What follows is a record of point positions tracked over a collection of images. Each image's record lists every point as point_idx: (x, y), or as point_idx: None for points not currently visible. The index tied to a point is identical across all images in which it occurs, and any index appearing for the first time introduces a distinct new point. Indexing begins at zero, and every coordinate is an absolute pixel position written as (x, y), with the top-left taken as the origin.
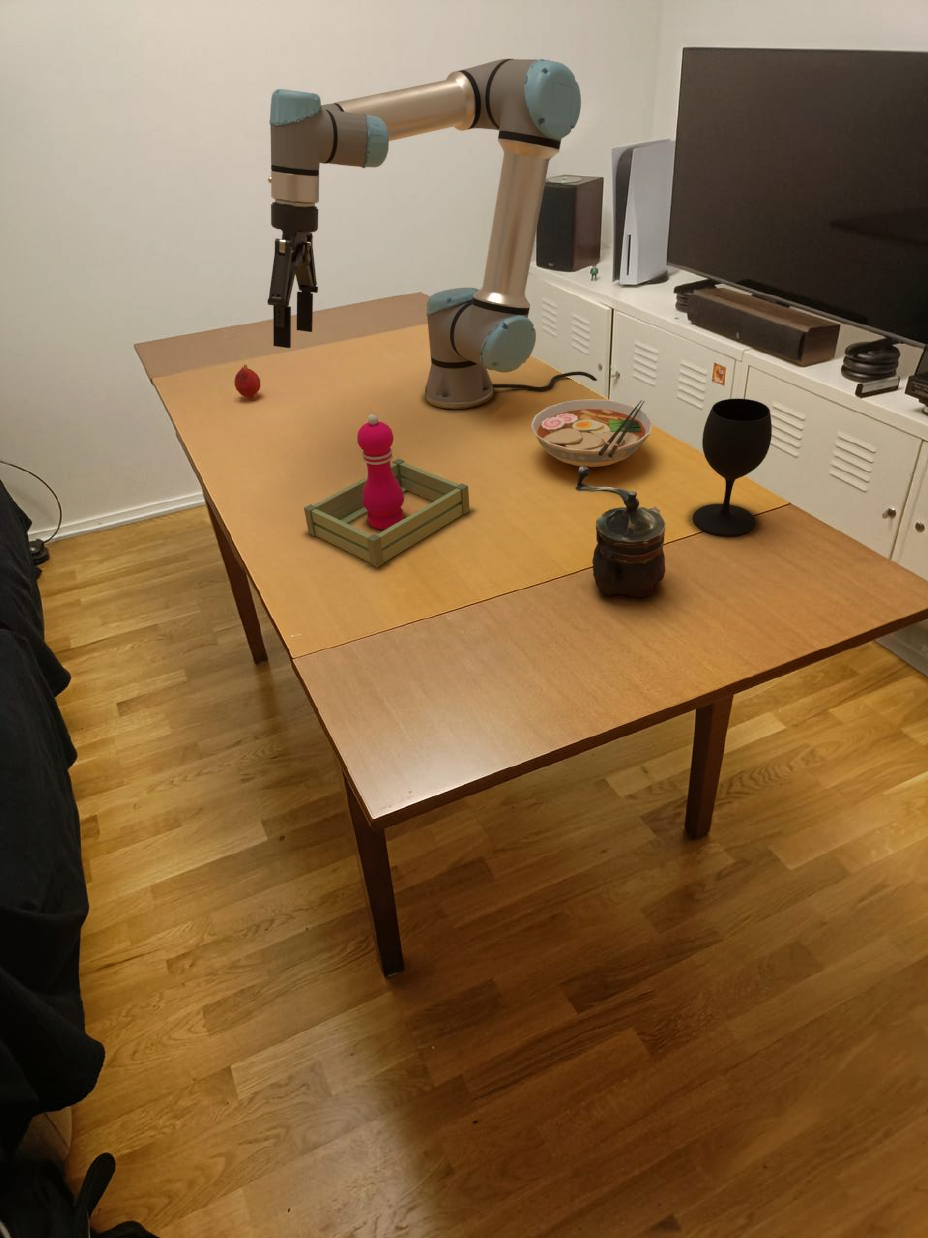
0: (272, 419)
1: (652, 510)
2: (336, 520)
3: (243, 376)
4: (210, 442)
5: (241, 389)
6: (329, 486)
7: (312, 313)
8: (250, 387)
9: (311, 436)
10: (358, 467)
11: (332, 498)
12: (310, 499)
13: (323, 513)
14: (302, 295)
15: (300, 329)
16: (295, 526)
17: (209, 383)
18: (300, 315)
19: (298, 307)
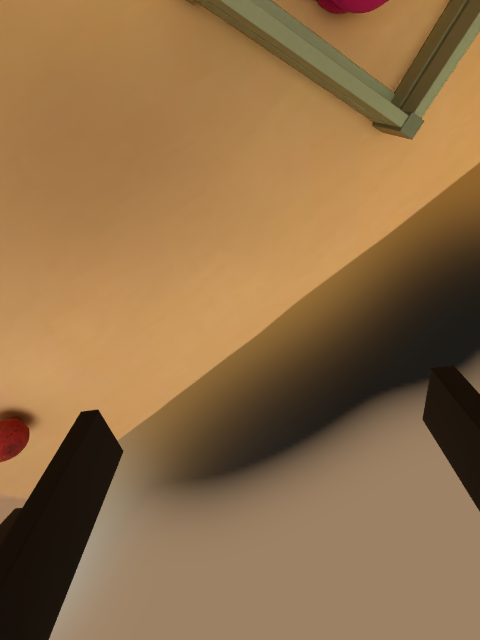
0: (55, 367)
1: None
2: (471, 33)
3: (11, 449)
4: (155, 391)
5: (27, 434)
6: (226, 174)
7: (39, 485)
8: (16, 429)
9: (73, 292)
10: (141, 149)
11: (377, 93)
12: (274, 186)
13: (435, 83)
14: (30, 629)
15: (115, 444)
16: (358, 169)
17: (14, 468)
18: (91, 501)
19: (79, 548)
